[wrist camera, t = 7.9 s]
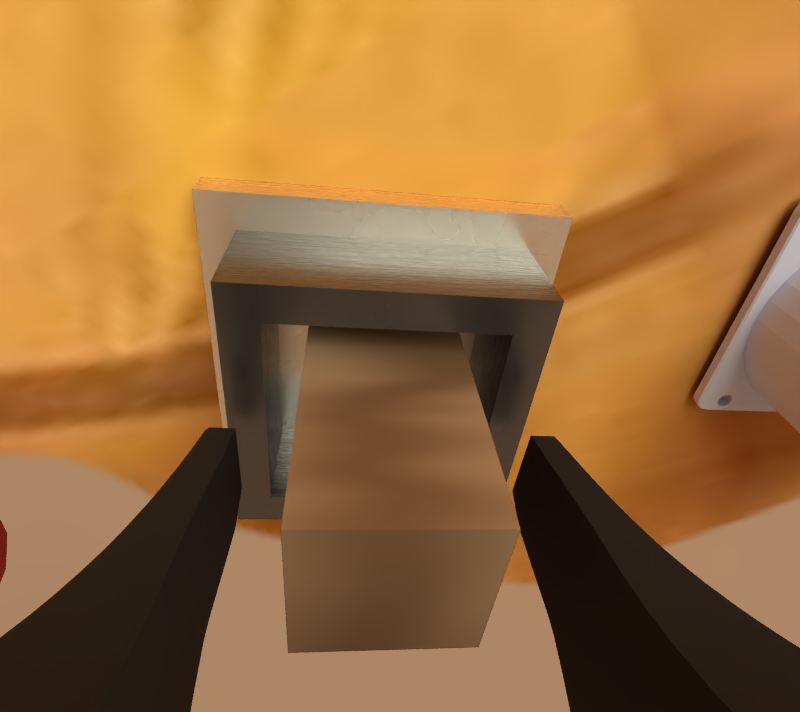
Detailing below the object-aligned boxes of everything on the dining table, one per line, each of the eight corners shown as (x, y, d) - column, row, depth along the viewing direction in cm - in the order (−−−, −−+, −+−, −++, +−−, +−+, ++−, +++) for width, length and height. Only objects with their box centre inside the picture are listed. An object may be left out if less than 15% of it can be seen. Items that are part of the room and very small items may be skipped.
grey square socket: (560, 205, 15) (618, 264, 12) (491, 452, 21) (517, 538, 17) (201, 177, 14) (154, 234, 10) (232, 447, 19) (208, 539, 16)
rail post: (449, 301, 15) (520, 529, 9) (432, 404, 18) (478, 647, 11) (313, 294, 15) (280, 530, 8) (313, 401, 17) (287, 653, 11)
